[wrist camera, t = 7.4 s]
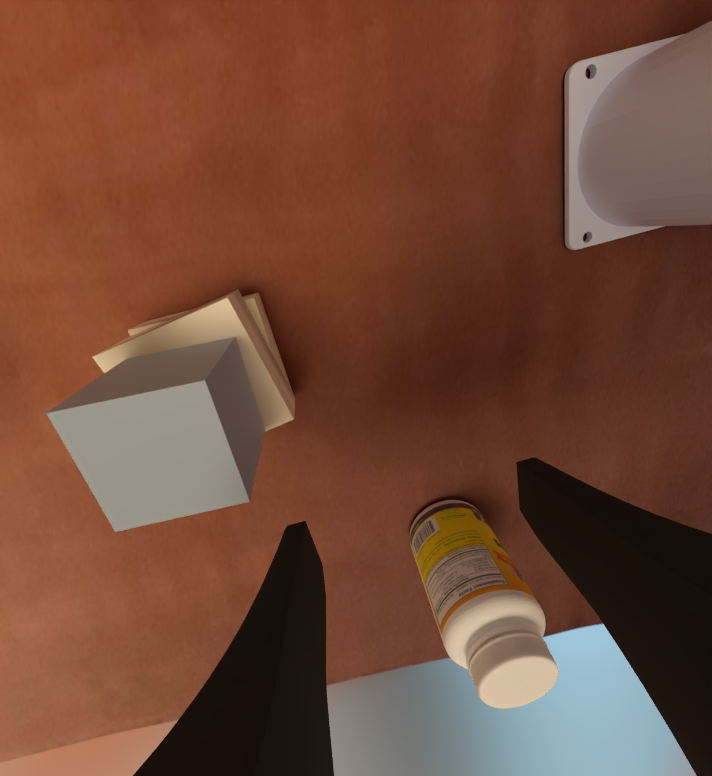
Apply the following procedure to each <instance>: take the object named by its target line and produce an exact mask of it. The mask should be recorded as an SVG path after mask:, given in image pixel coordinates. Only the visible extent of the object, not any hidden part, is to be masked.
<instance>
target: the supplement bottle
mask: <svg viewBox="0 0 712 776" xmlns="http://www.w3.org/2000/svg"><path fill="white" fill-rule="evenodd" d="M409 539H410V545H411V548H412V551H413V554H414V557H415V560H416V563H417V566H418V569H419V572H420V575H421V578H422V581H423V584H424V587H425V590H426V593H427V596H428V599H429V602H430V605H431V608H432V611H433V614H434V617H435V620H436V622H437V625H438V628H439V631H440V634H441V638H442V641H443V644H444V646H445V649H446V651H447V653H448V655H449V656H450V658H451V659H452V660H453V661H454V662H456V663H457V664H458V665H460V666H462V667H464V668H466V669H469V673H470V676H471V677H472V679H473V681H474V684H475V686H476V689H477V692H478V694H479V697H480V698H481V699H482V701H483V702H484V703H486V704H487V705H489V706H492V707H496V708H513V707H518V706H522V705H525V704H528V703H530V702H532V701H534V700H536V699H538V698H540V697H541V696H543V695H544V694H545V693H547V692H548V691H549V690H550V689H551V688H552V686H553V685H554V684H555V682H556V680H557V677H558V667H557V665H556V663H555V661H554V659H553V657H552V655H551V654H550V652H549V650H548V648H547V645H546V643H545V641H544V640H543V639H542V638H543V635H544V631H545V617H544V613H543V611H542V609H541V607H540V606H539V604H538V602H537V600H536V599H535V597H534V596H533V594H532V593H531V591H530V589H529V588H528V586H527V585H526V583H525V582H524V580H523V578H522V577H521V575H520V574H519V572H518V571H517V569H516V567H515V566H514V564H513V563H512V561H511V560H510V558H509V556H508V555H507V553H506V551H505V550H504V548H503V547H502V545H501V544H500V542H499V541H498V539H497V538H496V536H495V534H494V533H493V531H492V530H491V528H490V526H489V525H488V523H487V522H486V520H485V519H484V517H483V516H482V514H481V513H480V512H479V510H478V509H477V508H475V507H474V506H473V505H471V504H469V503H467V502H464V501H460V500H445V501H441V502H437V503H435V504H432V505H431V506H429V507H427V508H426V509H424V510H423V511H422V512H421V513H420V514H419V515H418V516H417V517H416V519H415V520H414V522H413V524H412V526H411V529H410V535H409Z"/></svg>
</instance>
